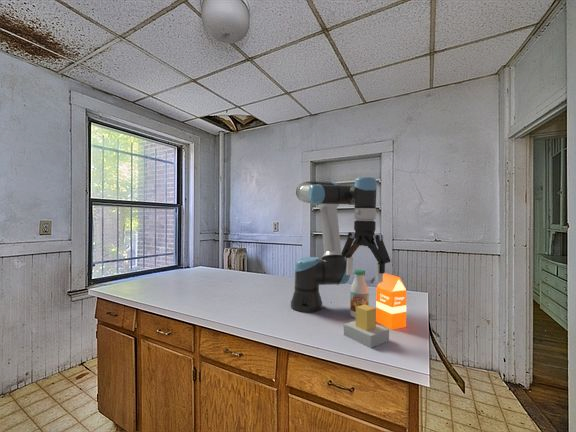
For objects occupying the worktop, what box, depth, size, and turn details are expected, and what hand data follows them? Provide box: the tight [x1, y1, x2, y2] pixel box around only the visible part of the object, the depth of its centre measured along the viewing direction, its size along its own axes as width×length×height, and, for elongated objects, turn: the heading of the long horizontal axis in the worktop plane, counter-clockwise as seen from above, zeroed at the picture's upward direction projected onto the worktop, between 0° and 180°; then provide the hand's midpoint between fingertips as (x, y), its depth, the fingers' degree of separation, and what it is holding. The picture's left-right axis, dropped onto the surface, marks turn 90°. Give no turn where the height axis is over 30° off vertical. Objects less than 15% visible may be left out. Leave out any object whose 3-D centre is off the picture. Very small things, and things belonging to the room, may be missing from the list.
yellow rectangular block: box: [355, 305, 377, 331], centre depth 99 cm, size 5×5×7 cm
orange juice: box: [375, 272, 407, 330], centre depth 112 cm, size 8×9×20 cm
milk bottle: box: [349, 269, 370, 319], centre depth 121 cm, size 8×8×20 cm
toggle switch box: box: [343, 320, 390, 349], centre depth 99 cm, size 12×10×8 cm
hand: (363, 278), depth 100 cm, fingers open, 13 cm apart
